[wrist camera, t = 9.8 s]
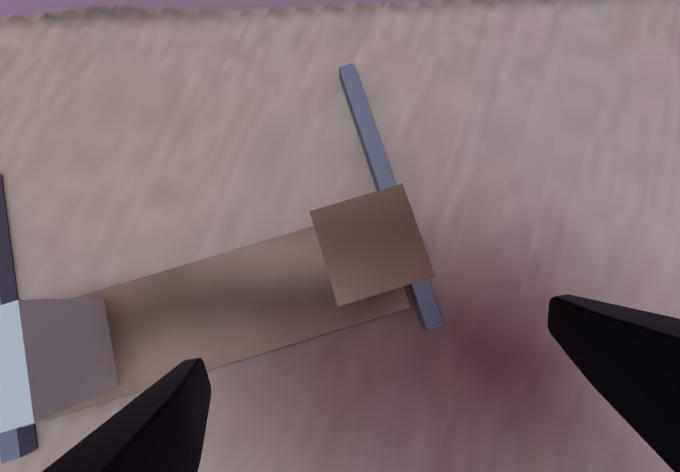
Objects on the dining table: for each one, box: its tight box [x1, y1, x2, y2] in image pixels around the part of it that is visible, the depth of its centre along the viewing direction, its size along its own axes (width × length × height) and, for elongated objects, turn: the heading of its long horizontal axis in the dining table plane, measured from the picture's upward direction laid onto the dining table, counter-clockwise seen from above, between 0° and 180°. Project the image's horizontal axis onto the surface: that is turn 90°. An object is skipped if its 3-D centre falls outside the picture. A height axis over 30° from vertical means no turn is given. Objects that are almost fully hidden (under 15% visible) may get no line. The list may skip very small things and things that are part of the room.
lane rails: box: [0, 63, 444, 463], centre depth 20 cm, size 17×25×1 cm
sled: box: [22, 184, 435, 428], centre depth 15 cm, size 6×22×10 cm, turn 107°
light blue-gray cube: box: [0, 298, 119, 433], centre depth 16 cm, size 5×5×5 cm
